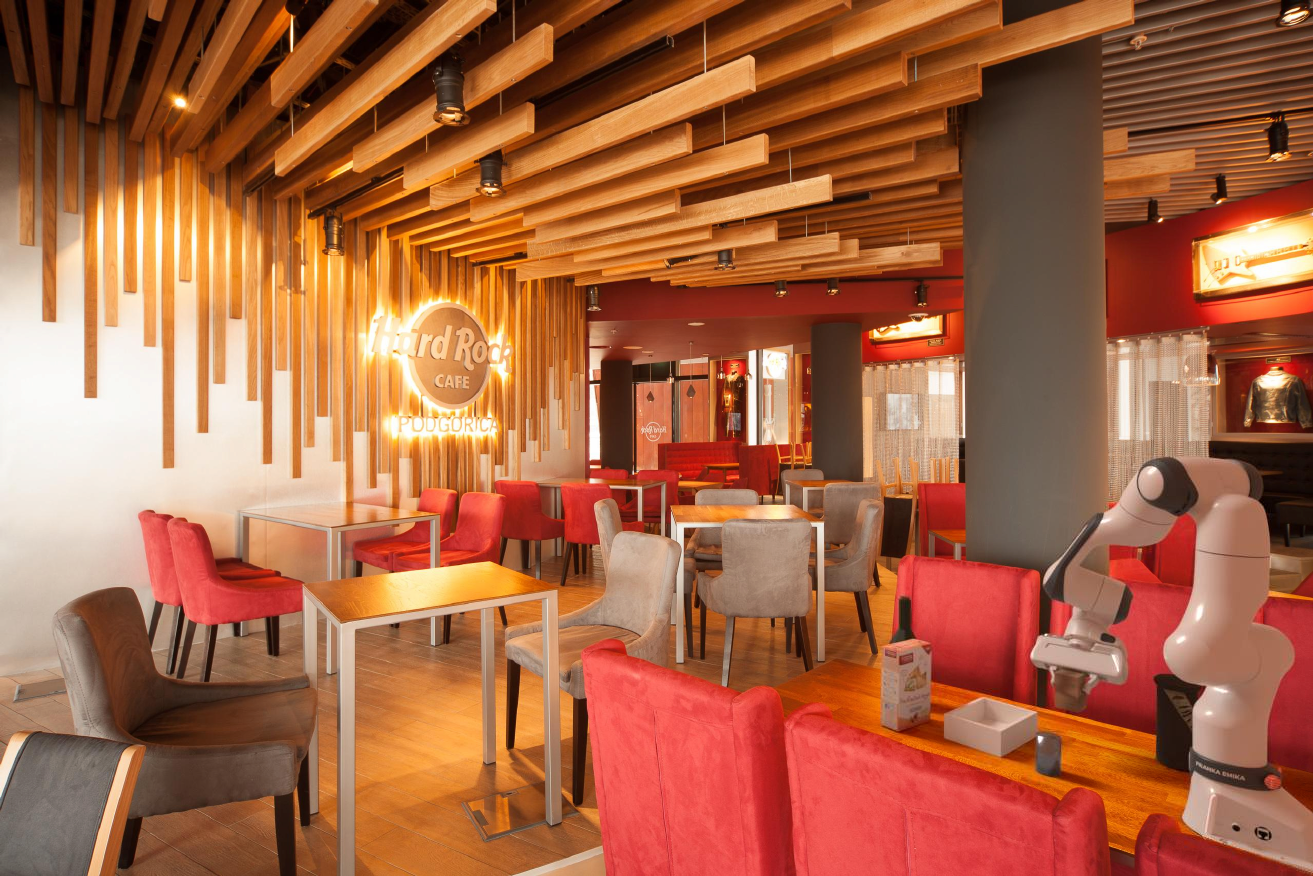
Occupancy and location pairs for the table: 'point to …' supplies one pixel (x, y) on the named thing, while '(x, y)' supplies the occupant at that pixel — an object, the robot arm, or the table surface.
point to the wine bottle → (904, 622)
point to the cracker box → (905, 684)
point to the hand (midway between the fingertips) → (1069, 689)
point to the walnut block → (1070, 690)
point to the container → (1174, 720)
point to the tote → (991, 726)
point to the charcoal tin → (1048, 754)
